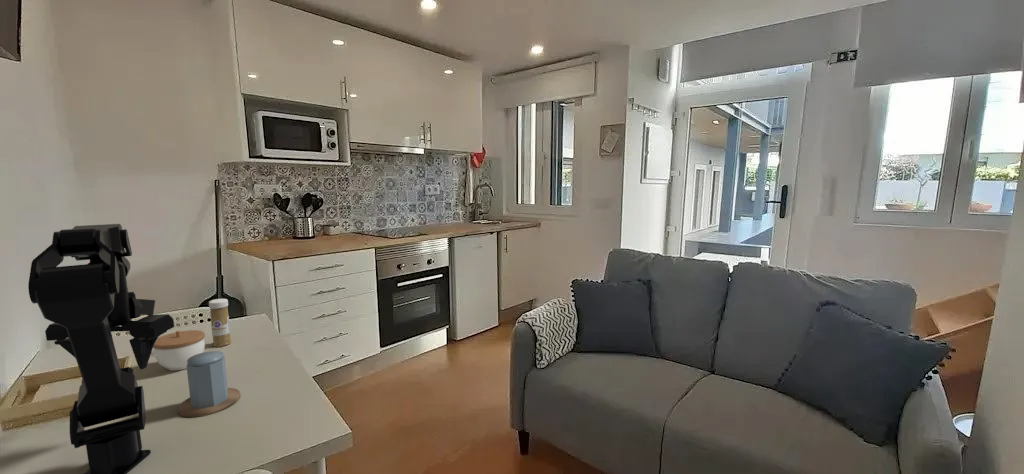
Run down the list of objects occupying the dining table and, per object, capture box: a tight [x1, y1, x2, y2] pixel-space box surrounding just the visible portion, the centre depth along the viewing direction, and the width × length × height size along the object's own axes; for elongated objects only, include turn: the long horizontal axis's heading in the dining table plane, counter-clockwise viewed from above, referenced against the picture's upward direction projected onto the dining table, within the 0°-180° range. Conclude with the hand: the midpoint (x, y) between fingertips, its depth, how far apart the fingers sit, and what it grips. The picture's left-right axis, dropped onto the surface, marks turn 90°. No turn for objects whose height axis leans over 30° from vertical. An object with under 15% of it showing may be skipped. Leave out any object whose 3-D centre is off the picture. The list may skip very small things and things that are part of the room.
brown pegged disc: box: [177, 387, 241, 418], centre depth 91 cm, size 11×11×4 cm
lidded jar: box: [152, 329, 206, 372], centre depth 109 cm, size 11×11×9 cm
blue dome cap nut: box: [186, 350, 229, 409], centre depth 90 cm, size 6×6×10 cm
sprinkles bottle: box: [208, 298, 232, 348], centre depth 122 cm, size 5×5×13 cm
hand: (118, 369), depth 81 cm, fingers open, 9 cm apart
